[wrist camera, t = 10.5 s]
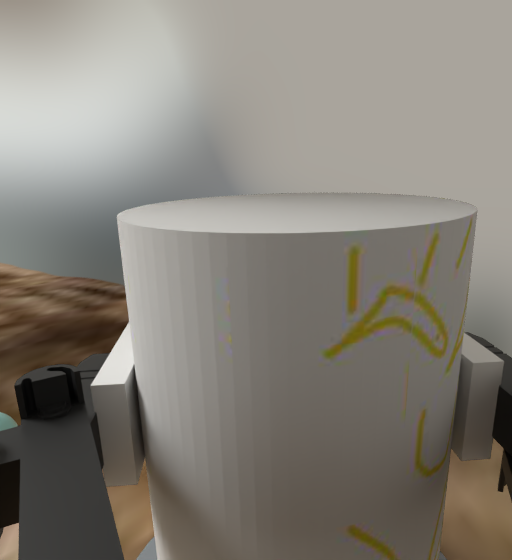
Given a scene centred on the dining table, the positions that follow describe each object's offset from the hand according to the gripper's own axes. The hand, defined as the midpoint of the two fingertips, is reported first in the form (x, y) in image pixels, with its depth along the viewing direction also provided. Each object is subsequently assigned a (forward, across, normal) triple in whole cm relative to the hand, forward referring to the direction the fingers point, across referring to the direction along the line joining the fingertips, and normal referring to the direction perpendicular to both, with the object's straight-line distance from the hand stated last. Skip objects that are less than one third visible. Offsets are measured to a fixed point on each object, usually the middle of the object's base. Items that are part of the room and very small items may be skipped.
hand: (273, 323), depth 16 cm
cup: (-5, 0, -7) cm, 9 cm away
